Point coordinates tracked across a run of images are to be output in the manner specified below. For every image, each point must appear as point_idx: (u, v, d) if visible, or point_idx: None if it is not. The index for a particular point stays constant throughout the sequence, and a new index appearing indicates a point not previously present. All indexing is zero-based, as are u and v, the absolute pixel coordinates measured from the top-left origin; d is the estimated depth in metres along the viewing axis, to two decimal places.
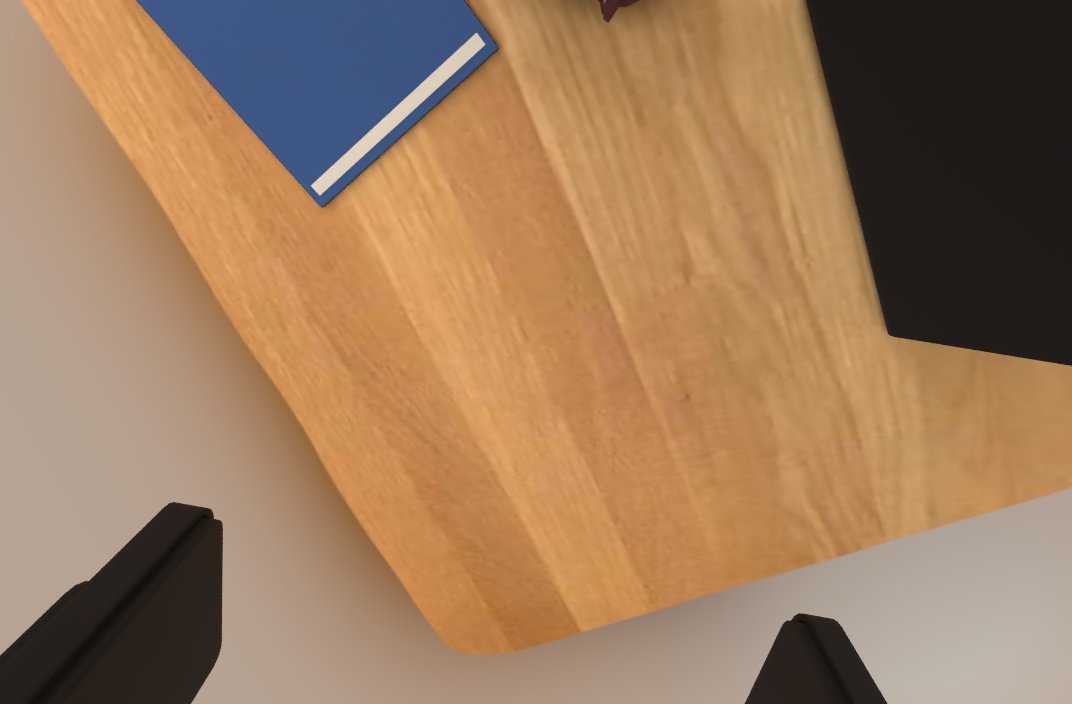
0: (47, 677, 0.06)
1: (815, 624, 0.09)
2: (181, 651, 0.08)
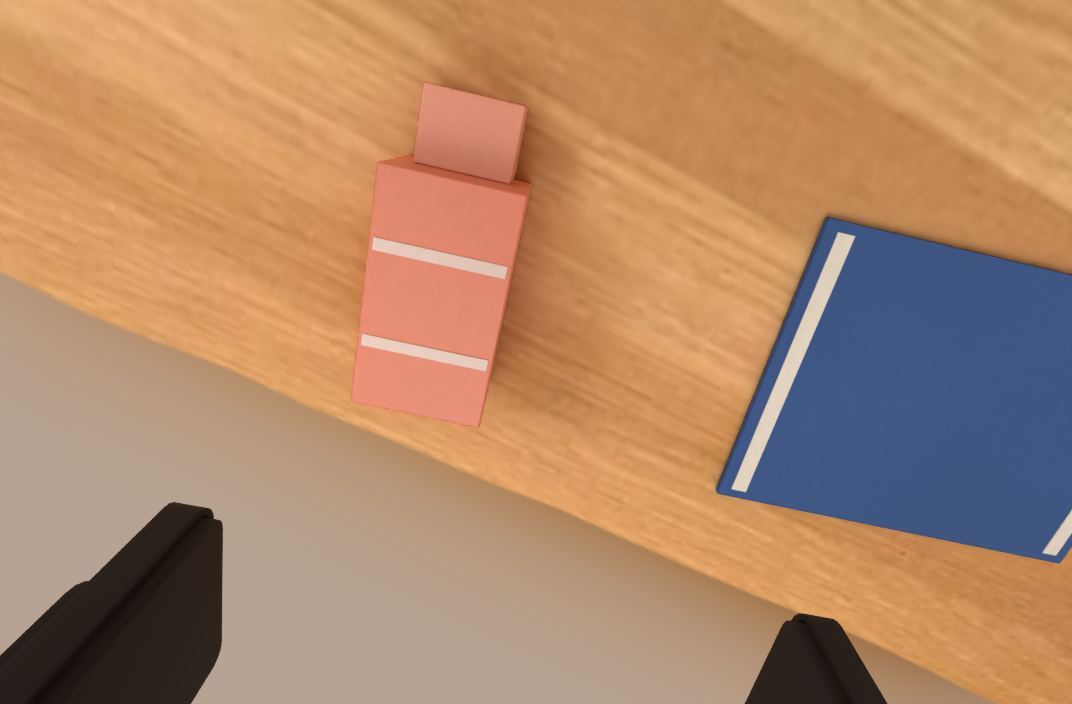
0: (47, 677, 0.06)
1: (815, 624, 0.09)
2: (181, 651, 0.08)
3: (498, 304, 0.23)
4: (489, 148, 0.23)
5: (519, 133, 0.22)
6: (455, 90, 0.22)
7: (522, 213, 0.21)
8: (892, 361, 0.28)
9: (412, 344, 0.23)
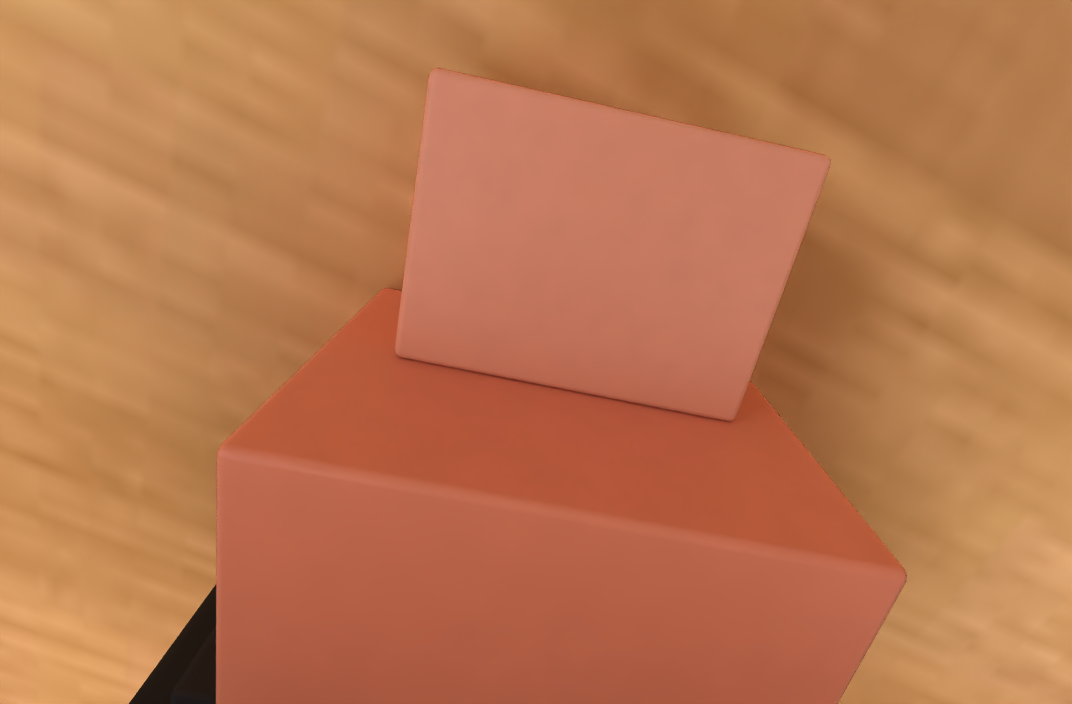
0: None
1: None
2: None
3: None
4: (672, 311, 0.06)
5: (794, 257, 0.06)
6: (558, 99, 0.05)
7: (874, 634, 0.05)
8: None
9: None
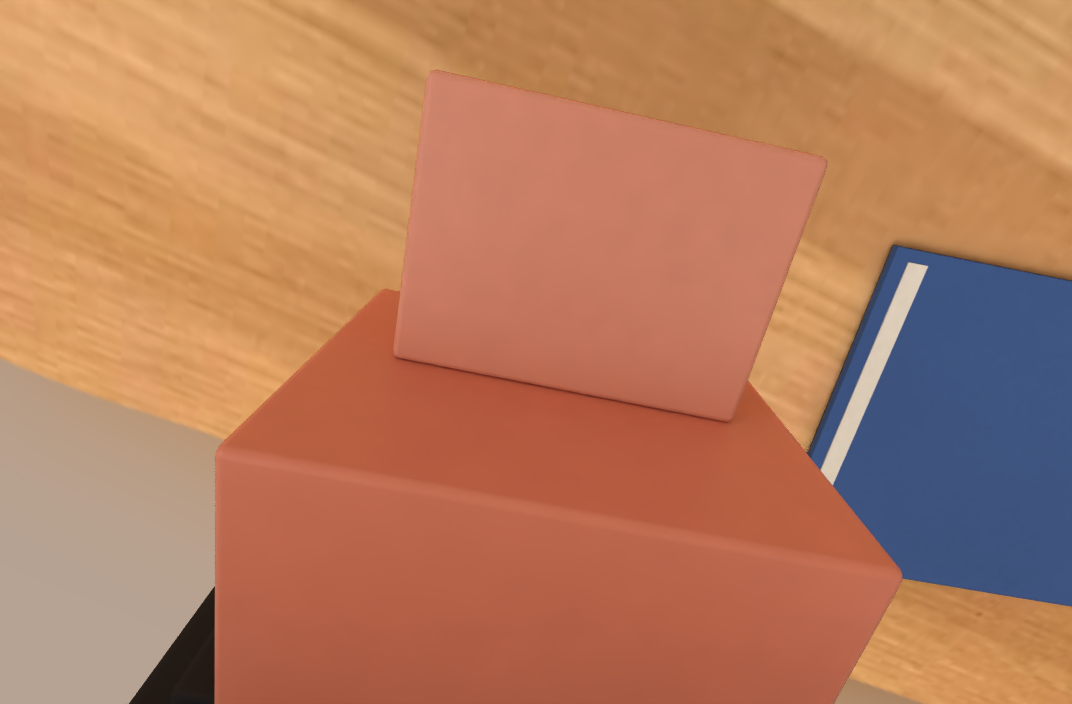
0: None
1: None
2: None
3: None
4: (669, 312, 0.06)
5: (791, 259, 0.06)
6: (556, 101, 0.05)
7: (870, 634, 0.05)
8: (969, 405, 0.24)
9: None
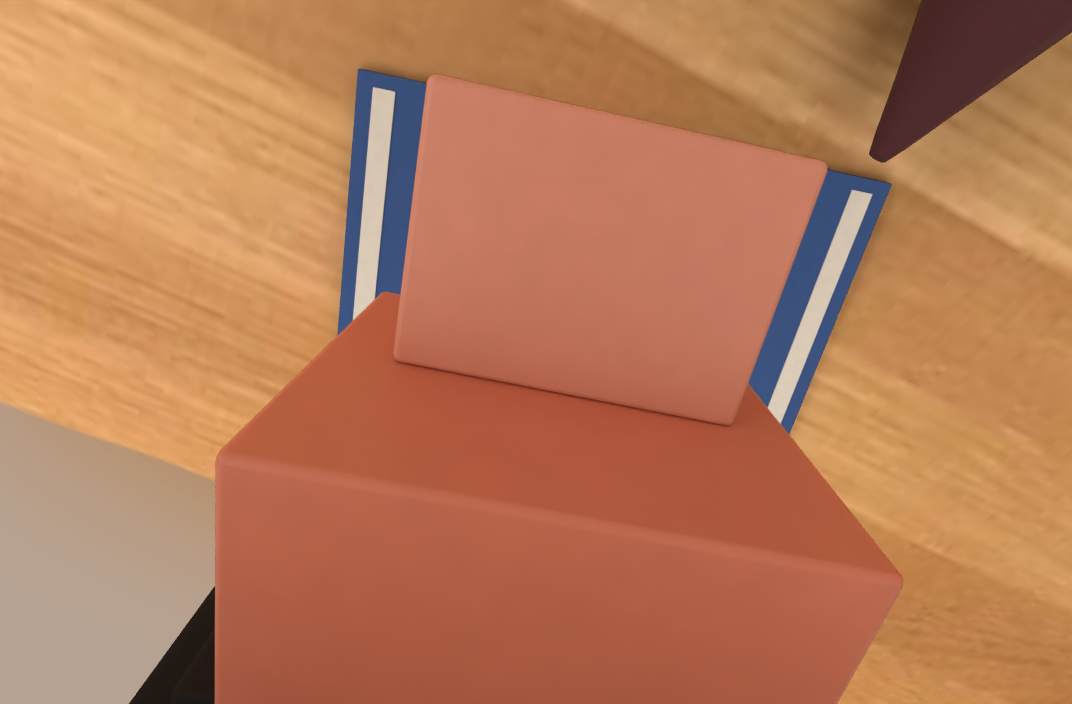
0: None
1: None
2: None
3: None
4: (670, 316, 0.06)
5: (791, 262, 0.06)
6: (556, 105, 0.05)
7: (870, 639, 0.05)
8: None
9: None
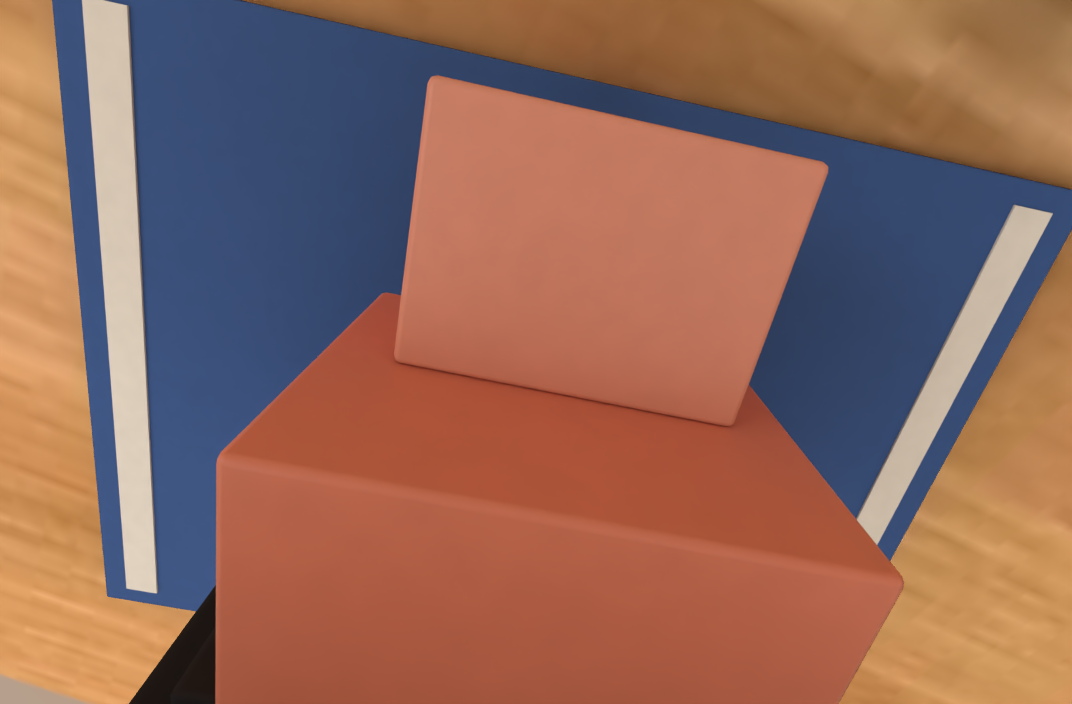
0: None
1: None
2: None
3: None
4: (671, 317, 0.06)
5: (792, 264, 0.06)
6: (557, 107, 0.05)
7: (871, 640, 0.05)
8: (342, 322, 0.13)
9: None
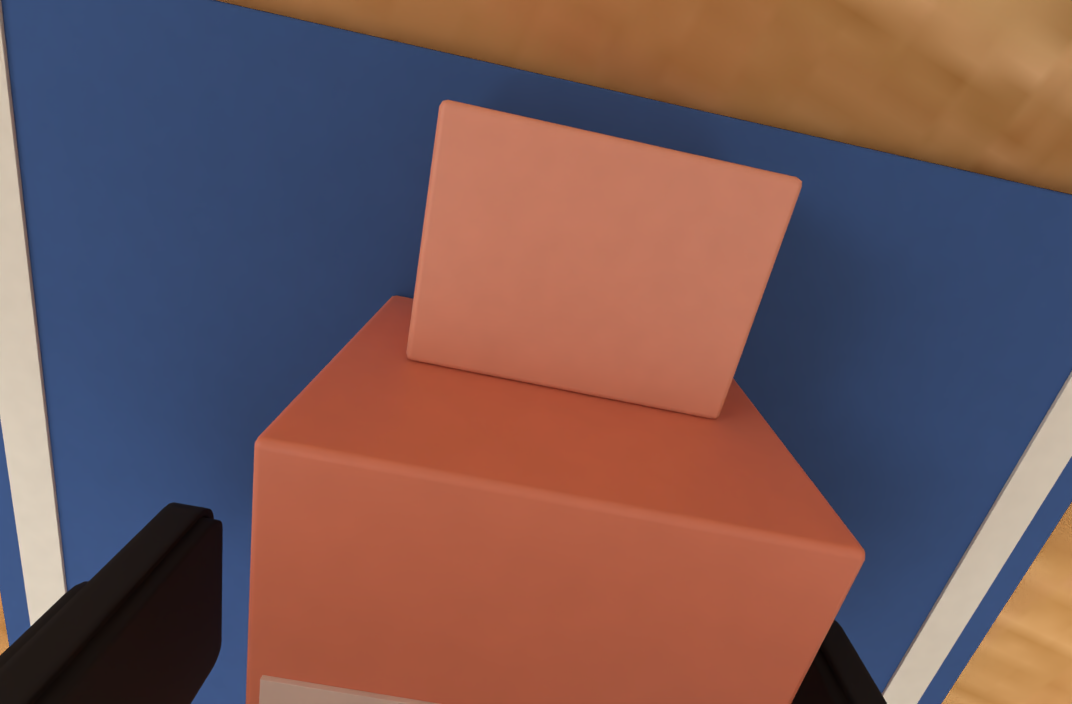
0: (47, 677, 0.06)
1: None
2: (181, 651, 0.08)
3: None
4: (659, 318, 0.07)
5: (770, 269, 0.06)
6: (555, 128, 0.06)
7: (837, 608, 0.05)
8: (291, 390, 0.10)
9: None
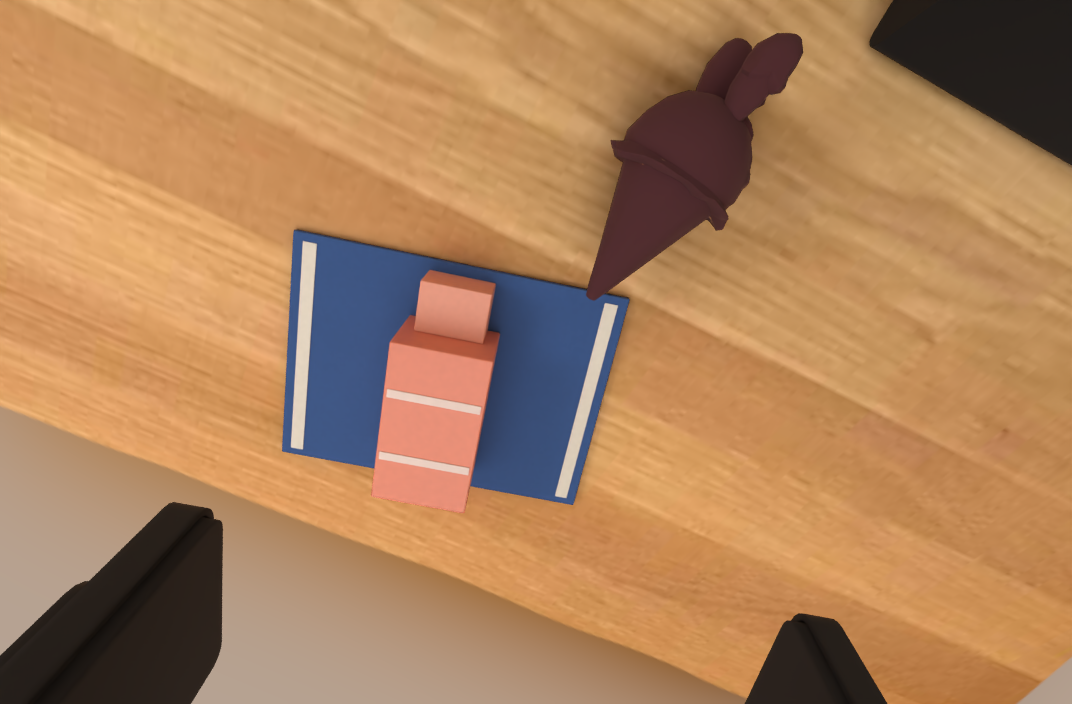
0: (47, 677, 0.06)
1: (815, 624, 0.09)
2: (181, 651, 0.08)
3: (475, 430, 0.32)
4: (467, 321, 0.32)
5: (488, 311, 0.32)
6: (442, 285, 0.31)
7: (490, 372, 0.31)
8: (380, 341, 0.35)
9: (415, 457, 0.33)
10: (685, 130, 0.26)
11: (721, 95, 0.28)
